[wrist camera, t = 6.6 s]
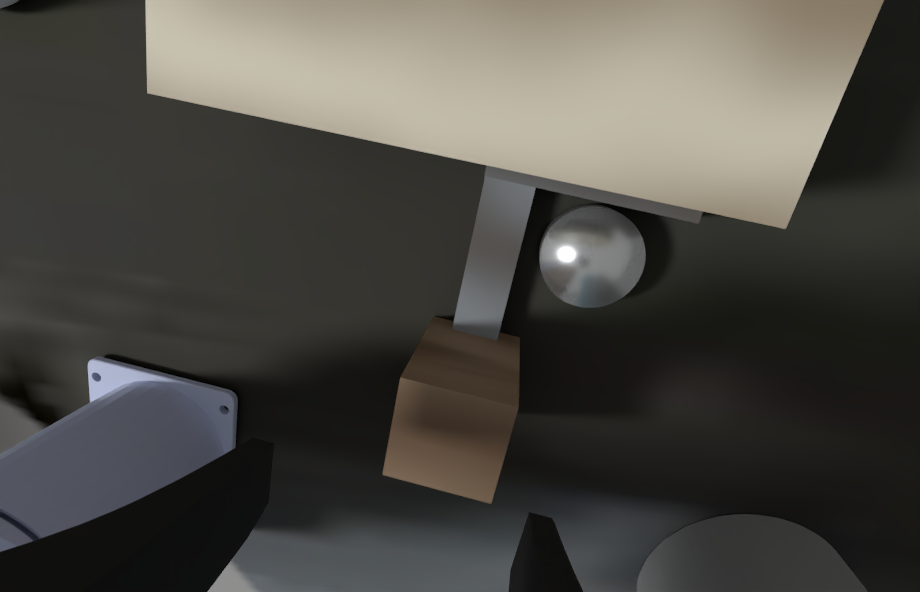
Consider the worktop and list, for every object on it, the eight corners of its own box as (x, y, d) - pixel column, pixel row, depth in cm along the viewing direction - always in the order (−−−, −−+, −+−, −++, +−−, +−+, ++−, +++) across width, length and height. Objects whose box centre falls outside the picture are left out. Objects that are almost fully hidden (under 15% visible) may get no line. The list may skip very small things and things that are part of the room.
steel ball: (622, 304, 20) (630, 315, 18) (530, 288, 20) (531, 298, 19) (647, 211, 18) (658, 216, 17) (548, 196, 19) (551, 199, 17)
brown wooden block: (603, 439, 21) (632, 541, 16) (418, 392, 22) (382, 474, 16) (691, 197, 18) (769, 218, 12) (467, 148, 18) (443, 146, 13)
